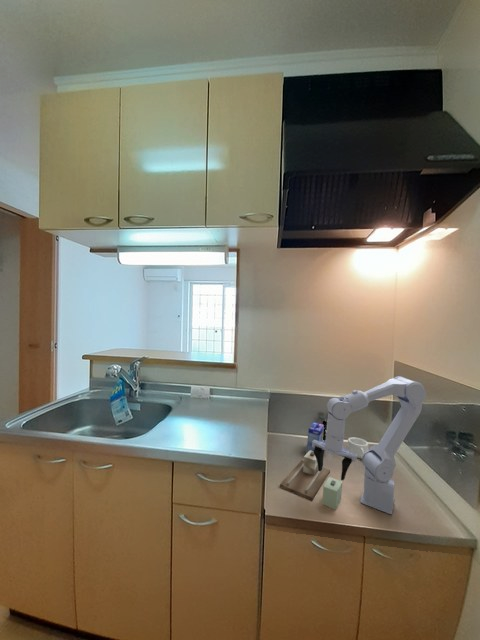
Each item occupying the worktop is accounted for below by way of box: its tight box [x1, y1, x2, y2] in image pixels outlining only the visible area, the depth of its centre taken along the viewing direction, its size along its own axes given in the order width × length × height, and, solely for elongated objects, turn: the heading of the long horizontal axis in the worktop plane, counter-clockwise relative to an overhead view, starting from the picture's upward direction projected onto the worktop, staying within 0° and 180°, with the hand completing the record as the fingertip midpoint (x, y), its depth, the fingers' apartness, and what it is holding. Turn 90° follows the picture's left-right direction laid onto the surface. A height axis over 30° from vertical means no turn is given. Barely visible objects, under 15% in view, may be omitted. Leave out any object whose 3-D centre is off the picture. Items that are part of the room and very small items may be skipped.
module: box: [321, 476, 343, 511], centre depth 94 cm, size 4×7×7 cm, turn 147°
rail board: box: [279, 450, 331, 501], centre depth 106 cm, size 12×22×8 cm, turn 147°
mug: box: [345, 436, 369, 459], centre depth 128 cm, size 12×10×6 cm
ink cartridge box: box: [305, 421, 325, 455], centre depth 128 cm, size 10×6×14 cm, turn 152°
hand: (331, 474), depth 94 cm, fingers open, 7 cm apart
